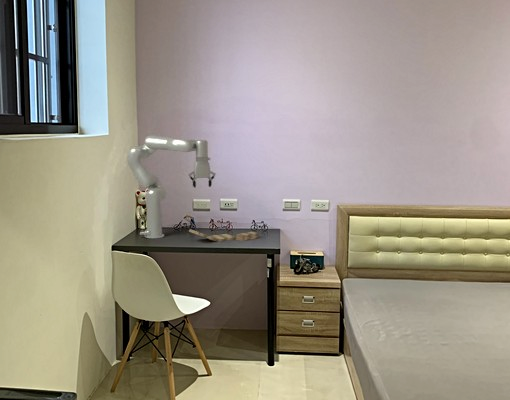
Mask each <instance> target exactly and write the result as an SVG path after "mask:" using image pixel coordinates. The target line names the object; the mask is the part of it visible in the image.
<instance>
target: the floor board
mask: <svg viewBox="0 0 510 400" xmlns="http://www.w3.org/2000/svg"><path fill="white" fill-rule="evenodd" d="M209 236H210V237H213V238H215V239H217V241H216V243H218V242H227V241H233V240H234V241H235V240H236V236H234V235H231V234H228V233H224V234H214V235H209ZM236 241H237V240H236Z"/></svg>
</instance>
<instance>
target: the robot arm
mask: <svg viewBox="0 0 510 400" xmlns="http://www.w3.org/2000/svg"><path fill="white" fill-rule="evenodd" d="M208 145H209V143H208V140H206V139H197V140H196V139H182V138H181V139H179V138H172V137H171V136H163V135H155V134H153V135H152V134H151V135H148V136H146V137H145V138H144V144H143V145H141V146H140V145H138V146H133V147H132V148H131V149H129V151H128V153H127V157H126V159H127V164H128V166H129V168H130V170H131V171H132V173H133V174H134V176H135V179H136V180H137V182H138V184H139V185H140V187H141V188H143V189H148V190H147V191H146V192H145V196H144V197H145V205H146V229H145V230H144V231H140V232H139V236H142V235H144V238H147V239H162V238H164V237H165V234H164V233H163V223H162V222H163V219H162V212H163V211H162V204H161V202H162V201H164V200H165V199H166V197H167V192H166V189H165V187H164V185H163V184H162V182H161V180H160V178H159V177H158V175H157V174H155V173H153V172H149V171H148V169H147V168H146V165H145V164H144V163H143V162H142V160H146V159H147V158H149V157H151V156H152V155H153V154H154V153H155V152H157V150H162V151H173V152H181V153H189V152H190V153H191V152H192V153H193V152H195V161H194V162H193V171H192V172H190V173H188V177H189V179H190V180H191V181H192V187H193V188H196V186H197V183H196V182H197V181H196V180H197V179H208V187H209V188H211V187H212V183H213V182H212V181H213V179H215V177H216V175H217V173H215V172H213V171H211V167H210V160H211V157H209V154H208V153H209V148H208V147H209V146H208ZM192 175H193V177H192Z"/></svg>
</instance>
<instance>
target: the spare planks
mask: <svg viewBox="0 0 510 400" xmlns="http://www.w3.org/2000/svg"><path fill="white" fill-rule="evenodd" d="M235 237H236V241H241V242H244V241H250V240H255V239H259V232H255V231H249V232H242V233H241V232H240V233H237V234H236V236H235Z"/></svg>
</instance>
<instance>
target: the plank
mask: <svg viewBox="0 0 510 400" xmlns="http://www.w3.org/2000/svg"><path fill="white" fill-rule="evenodd" d="M188 232H189V233H192V234H195V235H197V236H200V237H203V238H205V239H207V240H211V241H214V242H217V239H215V238H213V237H210V236H211V235H208V234H204V233H202V232H200V231H197V230H194V229H191V228H190V229H189V230H188Z"/></svg>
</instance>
